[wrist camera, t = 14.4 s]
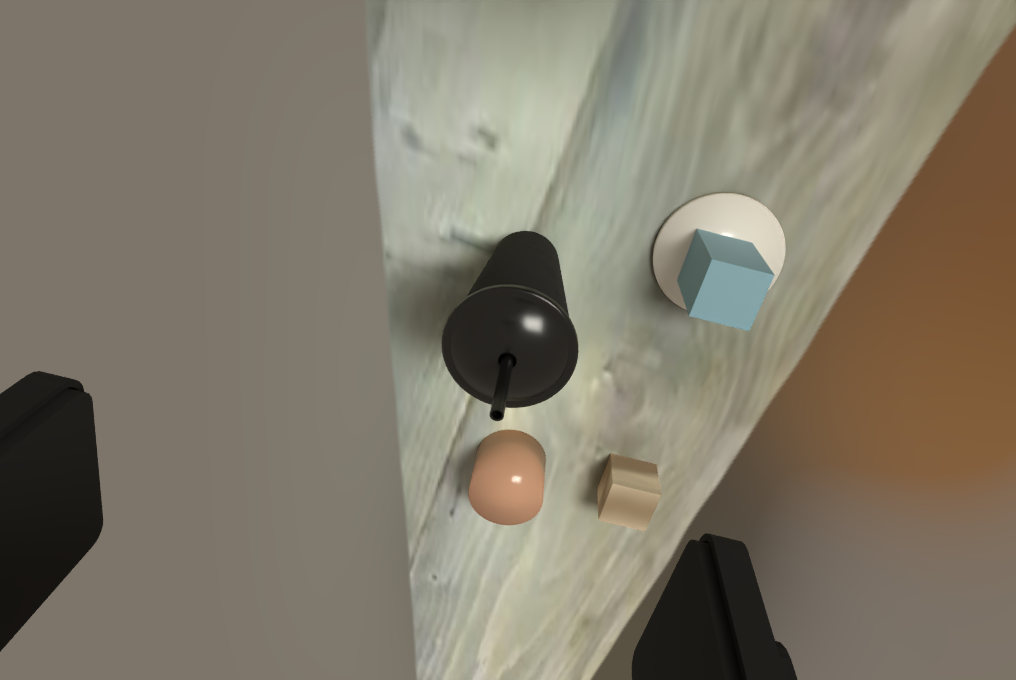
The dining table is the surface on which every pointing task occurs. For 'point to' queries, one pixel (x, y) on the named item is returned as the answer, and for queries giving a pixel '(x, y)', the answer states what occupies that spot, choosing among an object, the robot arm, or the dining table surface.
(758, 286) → the teal block
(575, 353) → the drinking cup
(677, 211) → the cream shiny round part
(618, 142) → the dining table surface
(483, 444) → the peach cylinder
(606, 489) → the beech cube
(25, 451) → the robot arm
